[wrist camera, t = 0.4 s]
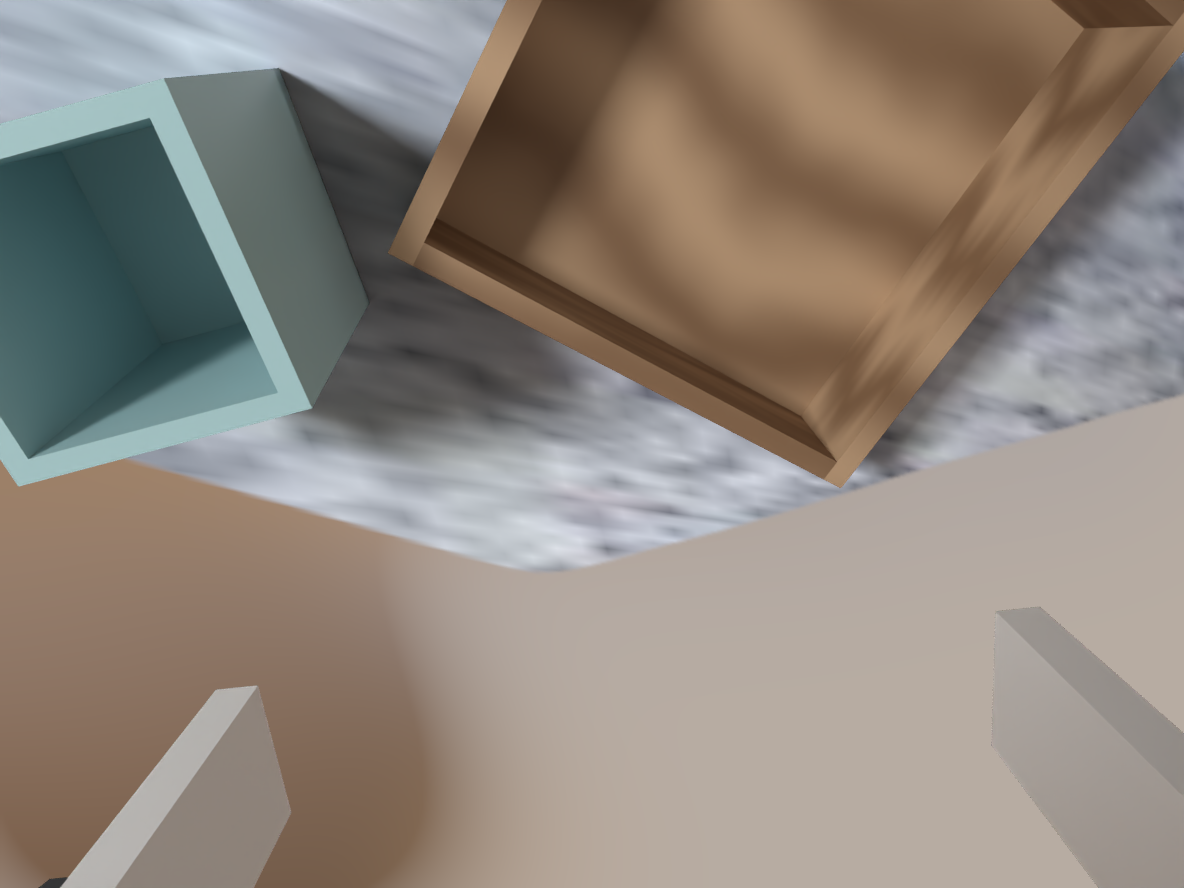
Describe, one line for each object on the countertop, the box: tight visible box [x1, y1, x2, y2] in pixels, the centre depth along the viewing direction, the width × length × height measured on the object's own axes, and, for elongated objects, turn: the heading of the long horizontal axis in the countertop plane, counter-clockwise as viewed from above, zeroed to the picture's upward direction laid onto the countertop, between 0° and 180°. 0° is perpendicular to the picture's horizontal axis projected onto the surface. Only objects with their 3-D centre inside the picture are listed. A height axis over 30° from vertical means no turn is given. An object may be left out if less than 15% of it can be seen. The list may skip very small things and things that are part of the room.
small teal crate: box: [0, 68, 369, 486], centre depth 29 cm, size 10×10×12 cm
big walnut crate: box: [388, 0, 1184, 488], centre depth 32 cm, size 22×22×6 cm
